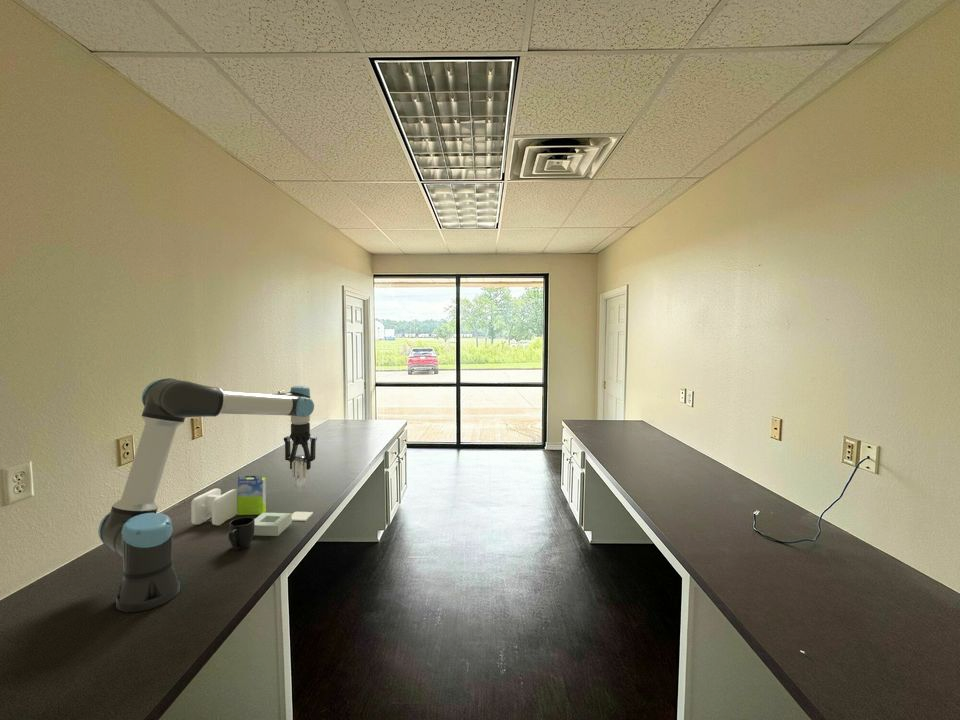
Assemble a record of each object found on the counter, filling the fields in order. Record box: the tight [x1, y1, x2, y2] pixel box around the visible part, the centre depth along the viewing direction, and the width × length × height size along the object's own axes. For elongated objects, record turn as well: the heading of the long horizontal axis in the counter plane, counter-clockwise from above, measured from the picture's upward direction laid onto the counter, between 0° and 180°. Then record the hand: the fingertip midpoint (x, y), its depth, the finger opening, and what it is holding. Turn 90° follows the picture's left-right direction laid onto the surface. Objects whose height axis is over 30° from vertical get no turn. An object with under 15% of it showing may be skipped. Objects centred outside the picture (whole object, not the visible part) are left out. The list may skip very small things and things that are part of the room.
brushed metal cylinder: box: [294, 454, 307, 491], centre depth 189 cm, size 5×5×14 cm
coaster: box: [292, 511, 314, 522], centre depth 190 cm, size 8×8×1 cm
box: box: [237, 475, 267, 516], centre depth 192 cm, size 10×4×17 cm, turn 97°
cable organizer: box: [190, 488, 238, 526], centre depth 184 cm, size 15×11×12 cm
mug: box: [228, 516, 255, 551], centre depth 161 cm, size 8×12×10 cm
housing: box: [253, 512, 293, 537], centre depth 178 cm, size 12×12×4 cm
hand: (300, 476), depth 189 cm, fingers closed on brushed metal cylinder, 5 cm apart
